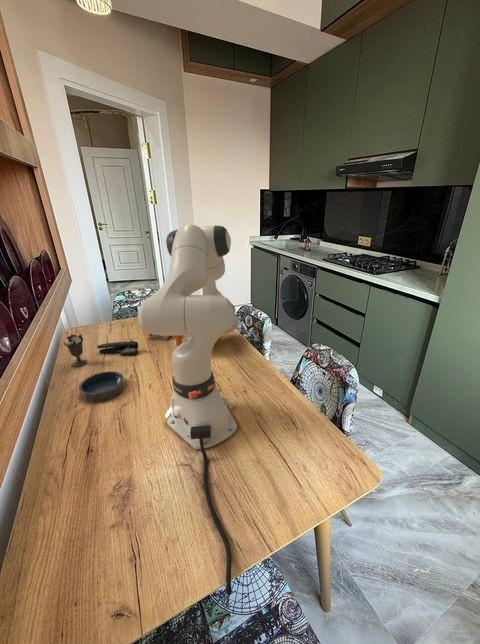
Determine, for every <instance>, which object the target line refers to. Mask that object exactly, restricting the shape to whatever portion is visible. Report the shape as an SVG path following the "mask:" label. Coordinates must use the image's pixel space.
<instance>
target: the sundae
mask: <svg viewBox="0 0 480 644" xmlns="http://www.w3.org/2000/svg"><path fill="white" fill-rule="evenodd" d="M65 334H66V335H67V337H66V339H65V341H64V342H63V345H64V346H65V347H67V349H68V351H69V353H70V355H71V356H73V357H74V358H76V361H74V362H73V364H72V367H75V368H78V367H82V366H84V365H86V364H87V362H88V361H87V360H85V359H81V355H82V354H83V351H84V350H83V349H84V348H83V343H84V338H83V335H82V334H81V333H79V335H77V334H73V333H72V334H71V333H69V332H68V331H66V332H65Z"/></svg>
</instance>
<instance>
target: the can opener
mask: <svg viewBox="0 0 480 644" xmlns="http://www.w3.org/2000/svg"><path fill="white" fill-rule="evenodd" d="M96 348H97V349H99V354H109V353H115V352H120V355H121V356H123V357H132V356H135V355H136V354H137V353H138V352H139V349H138V348H139V343H138V341H135V340H133V339H131V340H129V341H124V340H121V341H115V342H107V343H101V344H98V345H97V347H96Z"/></svg>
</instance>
